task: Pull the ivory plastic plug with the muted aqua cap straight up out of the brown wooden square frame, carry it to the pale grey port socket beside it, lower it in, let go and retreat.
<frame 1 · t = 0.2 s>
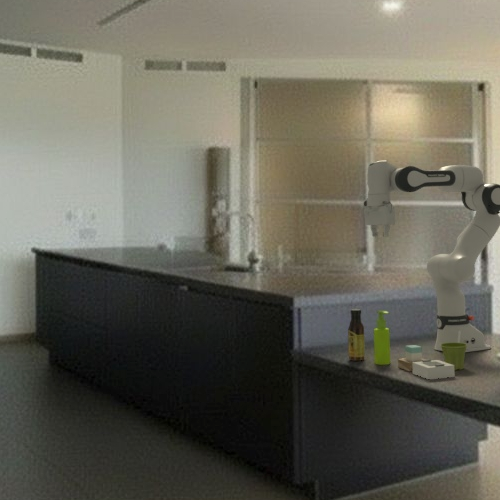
hand: (380, 236, 300), 47 cm above the countertop, tool pointing down, fingers open, 8 cm apart
sauce bottle: (357, 360, 294), on the countertop
port: (433, 375, 261), on the countertop
soap dispenser: (383, 364, 285), on the countertop
brown wooden square frame: (414, 368, 274), on the countertop
plant pot: (454, 369, 271), on the countertop
plug: (413, 357, 274), in the brown wooden square frame
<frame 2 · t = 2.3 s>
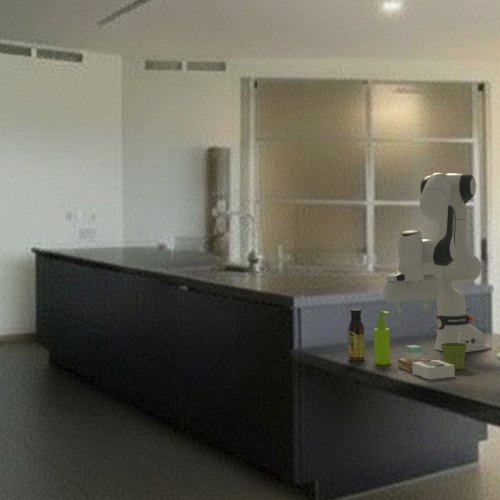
hand: (412, 313, 274), 20 cm above the countertop, tool pointing down, fingers open, 8 cm apart
nothing on the countertop moved.
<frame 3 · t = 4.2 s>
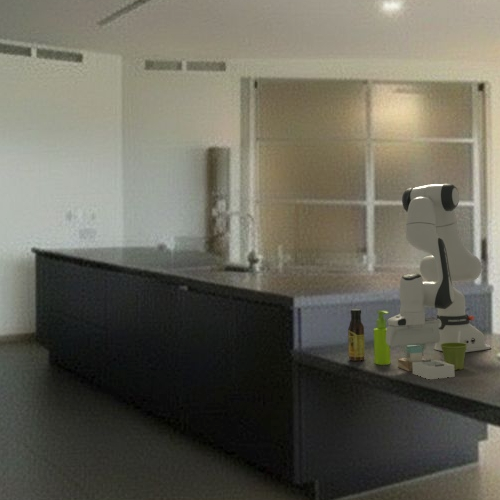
hand: (413, 356, 274), 4 cm above the countertop, tool pointing down, fingers closed on plug, 4 cm apart
plug: (413, 357, 274), in the brown wooden square frame, touching gripper
everything else where it was.
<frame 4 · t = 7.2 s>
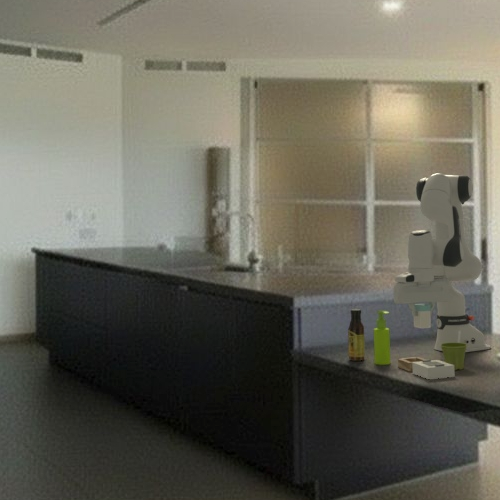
hand: (422, 315, 266), 20 cm above the countertop, tool pointing down, fingers closed on plug, 4 cm apart
plug: (422, 316, 266), point 20 cm above the countertop, touching gripper
everything else where it was.
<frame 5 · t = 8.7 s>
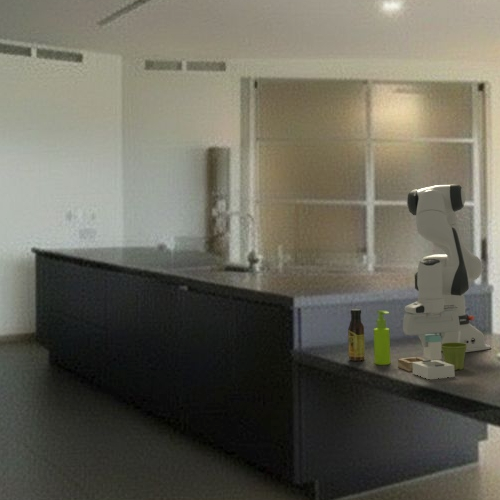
hand: (432, 346, 261), 10 cm above the countertop, tool pointing down, fingers closed on plug, 4 cm apart
plug: (432, 346, 261), point 10 cm above the countertop, touching gripper
everything else where it was.
when the fingers open (5 cm above the countertop, at t = 10.1 s): plug stays where it is, resting in port.
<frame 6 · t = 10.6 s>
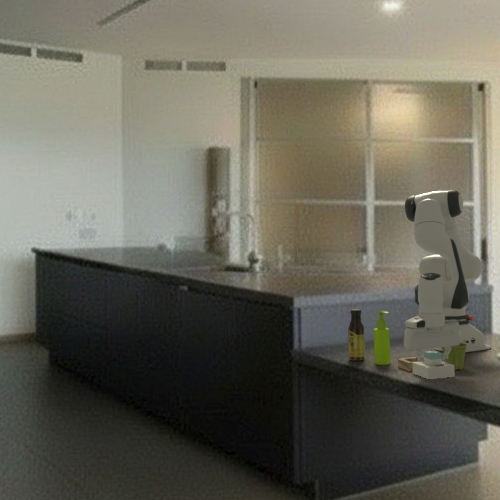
hand: (432, 360, 261), 5 cm above the countertop, tool pointing down, fingers open, 8 cm apart
plug: (433, 363, 261), in the port
everything else where it was.
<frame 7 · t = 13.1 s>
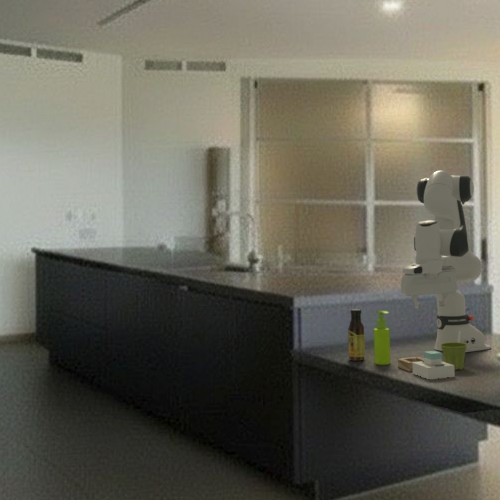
hand: (430, 307, 262), 23 cm above the countertop, tool pointing down, fingers open, 8 cm apart
nothing on the countertop moved.
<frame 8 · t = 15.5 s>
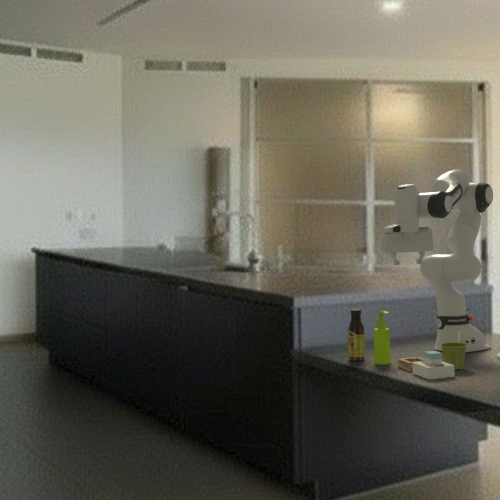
hand: (408, 264, 284), 37 cm above the countertop, tool pointing down, fingers open, 8 cm apart
nothing on the countertop moved.
at the end: plug 0.1 cm off-centre on the port, point 3.9 cm above the port's base; plug tilted 0°; the gripper is holding nothing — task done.
